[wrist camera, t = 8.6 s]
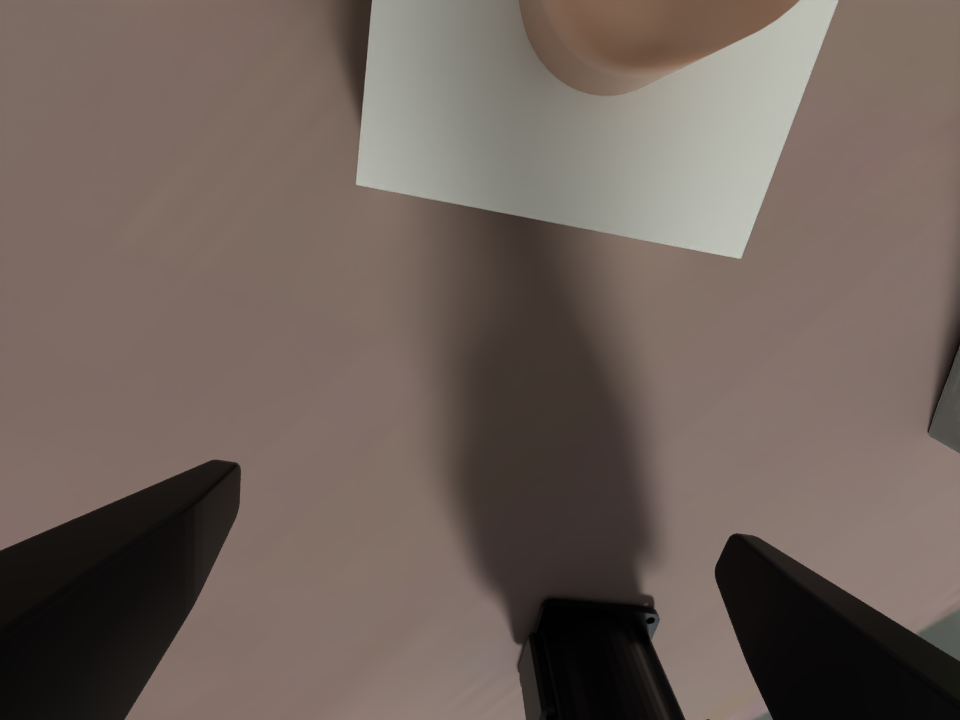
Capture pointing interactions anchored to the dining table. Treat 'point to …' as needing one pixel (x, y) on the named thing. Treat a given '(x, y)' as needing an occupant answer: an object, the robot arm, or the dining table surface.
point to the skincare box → (949, 410)
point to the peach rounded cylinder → (636, 37)
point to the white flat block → (580, 125)
